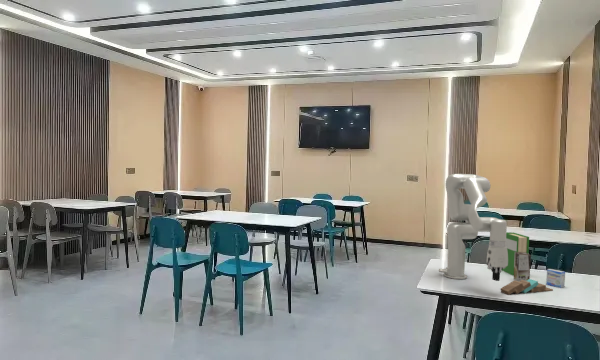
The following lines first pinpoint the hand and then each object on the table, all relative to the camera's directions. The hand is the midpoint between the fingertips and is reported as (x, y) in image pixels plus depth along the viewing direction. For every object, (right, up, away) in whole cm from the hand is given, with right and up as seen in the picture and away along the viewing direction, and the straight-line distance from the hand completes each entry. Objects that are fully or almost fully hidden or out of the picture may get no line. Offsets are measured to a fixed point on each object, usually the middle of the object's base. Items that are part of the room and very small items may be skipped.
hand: (495, 280), depth 222 cm
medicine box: (+42, -8, +22) cm, 48 cm away
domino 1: (+5, -6, +2) cm, 9 cm away
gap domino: (+15, -7, +6) cm, 18 cm away
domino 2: (+10, -7, +4) cm, 13 cm away
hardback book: (+33, -7, +50) cm, 60 cm away
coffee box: (+27, -8, +29) cm, 41 cm away
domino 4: (+25, -8, +10) cm, 28 cm away
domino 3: (+20, -7, +8) cm, 23 cm away
